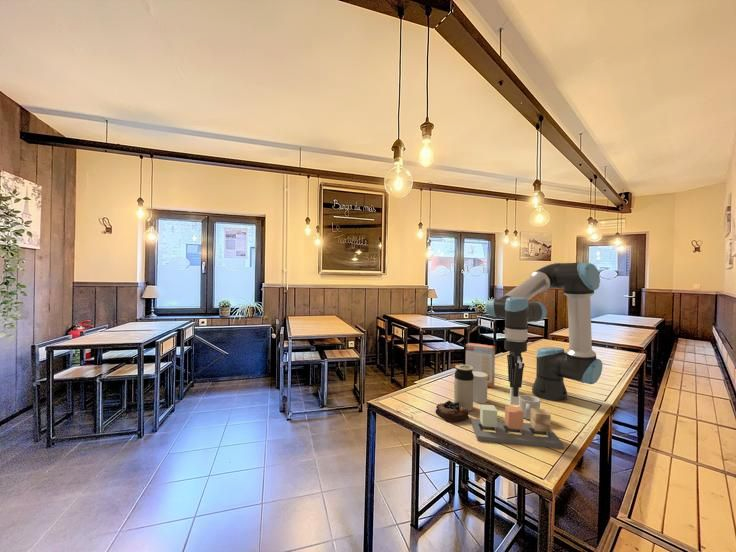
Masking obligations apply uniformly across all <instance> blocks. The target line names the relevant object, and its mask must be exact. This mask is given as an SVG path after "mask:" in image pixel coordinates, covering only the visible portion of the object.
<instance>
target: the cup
mask: <svg viewBox="0 0 736 552" xmlns="http://www.w3.org/2000/svg"><path fill="white" fill-rule="evenodd" d="M541 401H542V400H541V399H540V397H538V396H536V395H535V396H534V395H530V394H519V405H518V406H519V408H520V409H521V410H522V412H523V413H524V419H526V420H529V421H530V419H531V408H535V409H541Z"/></svg>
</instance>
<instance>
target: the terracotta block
mask: <svg viewBox="0 0 736 552" xmlns="http://www.w3.org/2000/svg"><path fill="white" fill-rule="evenodd" d="M524 419H525V418H524V413H523V412H522V410H521V409H520V406H519V407H518V406H509V405H508V406H507V405H505V406H504V421H505V423H506V425H507V427H508V428H509V429H521V430H523V423H524Z"/></svg>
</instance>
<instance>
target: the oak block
mask: <svg viewBox="0 0 736 552" xmlns="http://www.w3.org/2000/svg"><path fill="white" fill-rule="evenodd" d="M551 418H552V416H551V414H550V413H549V411H547V410H546V409H545V408H540V409H535V408H531V419H530V420H529V421H530V422H529V423H530V424H531V426H532V427H533V428H534V430H535V431H544V432H550V429H551V420H552V419H551Z"/></svg>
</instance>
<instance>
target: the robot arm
mask: <svg viewBox="0 0 736 552" xmlns="http://www.w3.org/2000/svg"><path fill="white" fill-rule="evenodd" d="M600 283H601V278H600V273H599V270H598V268H597V267H596V265H595V264H593V263H591V262H555V263H551V264H550V263H549V264H547V265H545V266H543V267H540V268H538V269H537V270H535V271H533V272H532V273H531V274H530V275H529V277H528V278H527V279H526V280H524V281H523V282H522V283H519V284H518V285H517V286H516V287H514V288H513V289H511V290H510V291H509V292H507V293H505V294H504V295H502V296H501V297H499V298H490V299H488V300H487V302H486V303H485V311H486V314H487V315H488V316H490V317H495V318H501V319H504V323H505V324H504V330H503V331H502V332H503V333H504V338H505V339H504V345H503V346H504V350H505V351H507V352H508V353H509V354H506V358H507V359H506V360H507V374H508V375H507V376H508V377H507V378H508V379H507V380H508V382H509V405H513V406H520V405H519V396H520V389H521V388H522V385H523V377H524V376H523V375H524V369H525V363H524V361H523V356H522V354H523V353H526V352H528V342H527V340H528V332H529V331H528V323H533V322H534V323H537V322H540V321H543V320H544V319H545V318H546V316H547V314H548V310H547V308H546V307H547V306H545V305H544V303H541V302H539V301H530V300H531V299H532V298H533V297H535V296H536V295H537V294H539V293H540V292H543V291H547V290H548V289H562V291H563V294H564V295H565V296H566V297H567V318H568V319H567V320H568V321H567V322H568V324H567V325H568V343H569V344H568V347H569V348H567V349H566V350H565V348H563V347H555V346H554V347H553V346H546V347H540V348H538V349H537V350H536V356H535V358H536V373H535V375H536V376H535V379H534V382H533V385H532V387H531V393H532V394H533V396H534V395H535V397H537V398H541V399H544V400H550V401H555V402H557V401H559V402H560V401H566V400H567V399H568V392H567V388H566V384H565V382H564V379H567V380H572V381H575V382H579V383H582V384H587V385H594V384H596V383H597V382H598V381H599V380H600V378H601V375H602V372H603V361H602V360H601V359H600V358H597V353H596V351H594V350H593V347H592V345H593V343H592V342H593V341H592V312H591V311H592V310H591V306H592V305H591V297H592V296H593V295H594V294H595V291H596V290H598V289H599V288H600Z"/></svg>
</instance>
